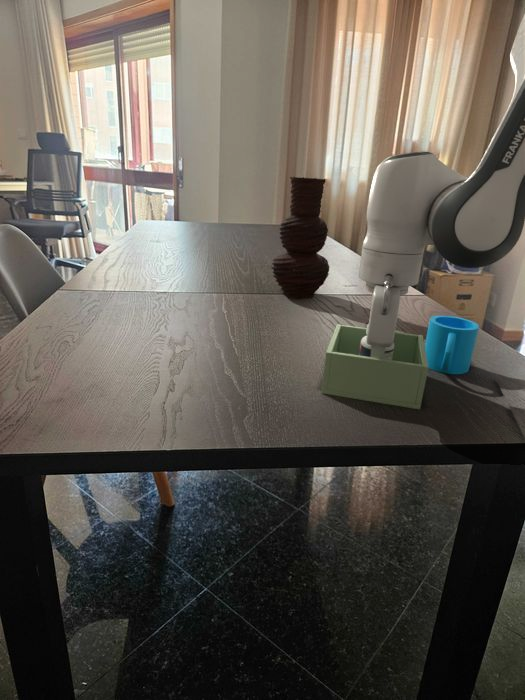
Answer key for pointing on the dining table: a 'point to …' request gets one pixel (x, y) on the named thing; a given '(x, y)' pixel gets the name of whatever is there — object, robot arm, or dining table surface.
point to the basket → (375, 369)
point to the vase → (302, 241)
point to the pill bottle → (366, 349)
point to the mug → (450, 344)
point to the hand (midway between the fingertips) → (376, 354)
